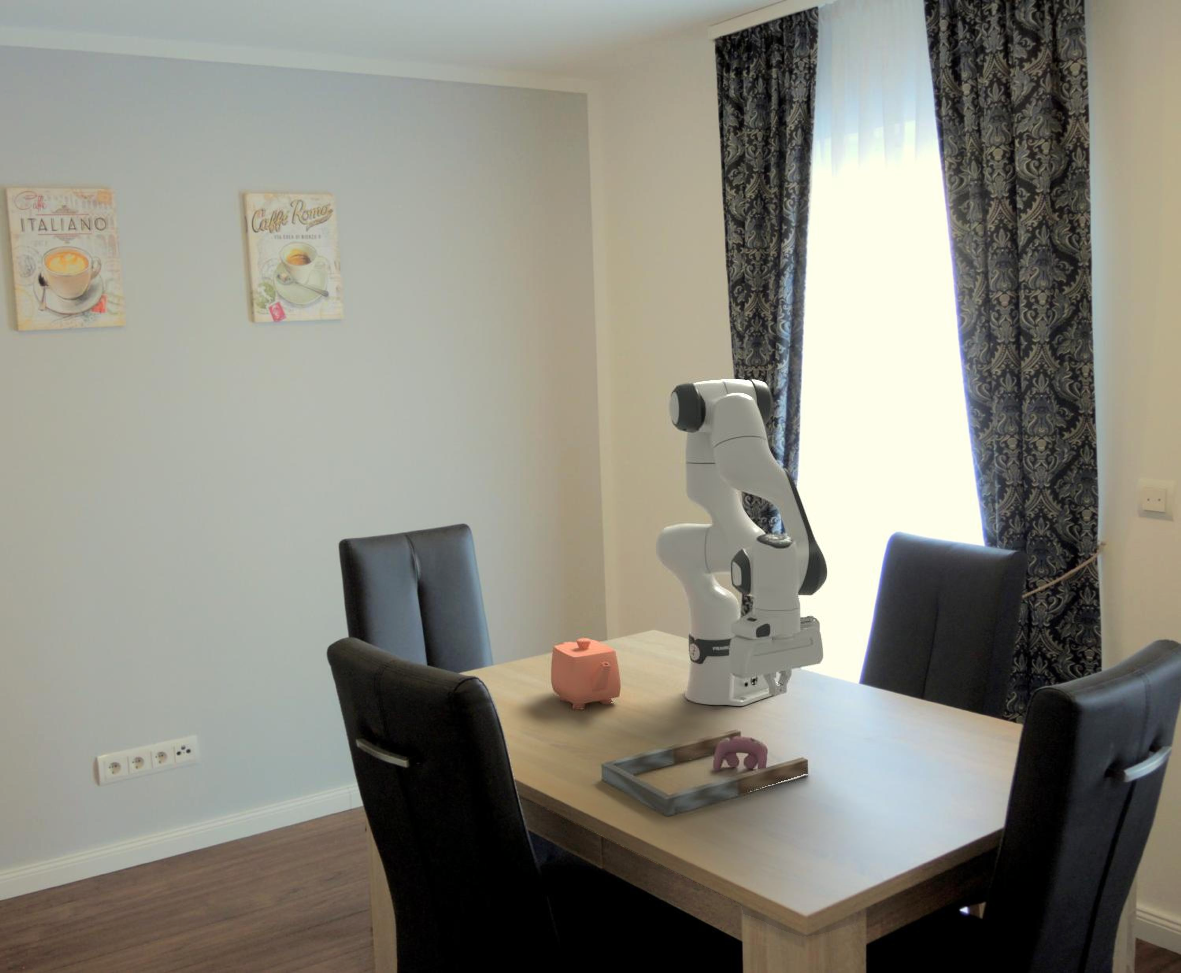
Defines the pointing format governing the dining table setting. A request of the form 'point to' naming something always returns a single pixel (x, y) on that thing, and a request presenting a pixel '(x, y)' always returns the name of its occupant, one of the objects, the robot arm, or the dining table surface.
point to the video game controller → (740, 745)
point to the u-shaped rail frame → (670, 804)
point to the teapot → (585, 672)
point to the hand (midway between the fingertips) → (777, 693)
